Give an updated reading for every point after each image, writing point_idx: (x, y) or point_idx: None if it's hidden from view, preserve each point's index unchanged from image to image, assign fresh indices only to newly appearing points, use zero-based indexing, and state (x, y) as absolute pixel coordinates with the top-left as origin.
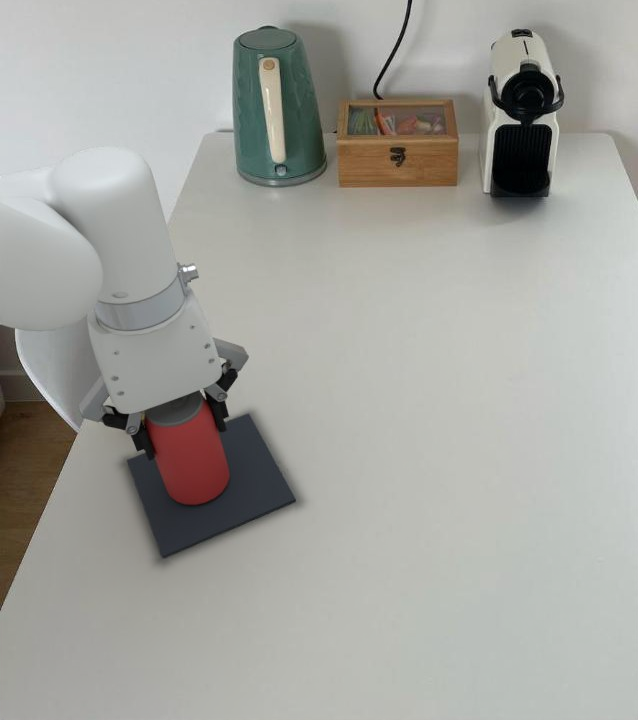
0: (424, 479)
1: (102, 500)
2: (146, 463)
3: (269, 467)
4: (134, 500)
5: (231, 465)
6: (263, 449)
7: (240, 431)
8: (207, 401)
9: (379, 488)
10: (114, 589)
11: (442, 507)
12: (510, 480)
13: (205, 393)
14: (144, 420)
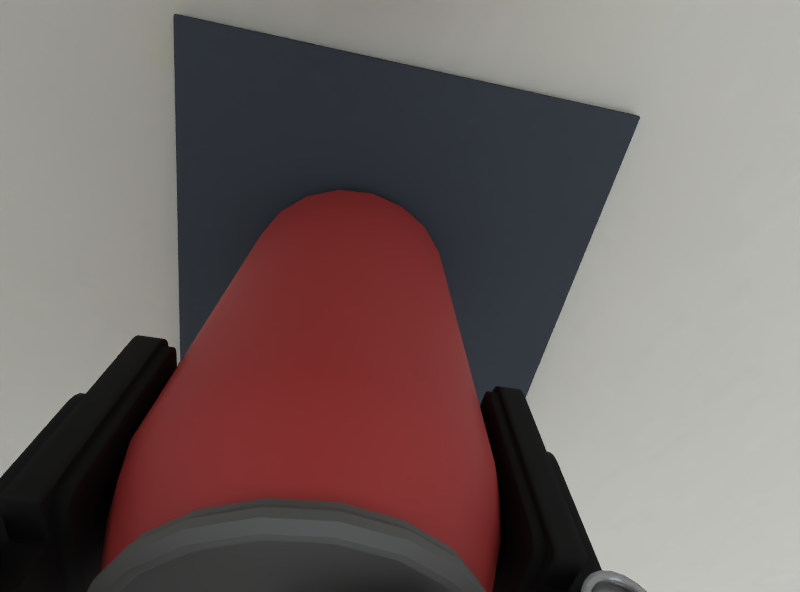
0: (717, 523)
1: (61, 128)
2: (235, 88)
3: (526, 345)
4: (161, 197)
5: (455, 278)
6: (558, 285)
7: (561, 176)
8: (505, 489)
9: (645, 497)
10: (61, 398)
11: (678, 570)
12: (797, 587)
13: (520, 567)
14: (110, 512)
